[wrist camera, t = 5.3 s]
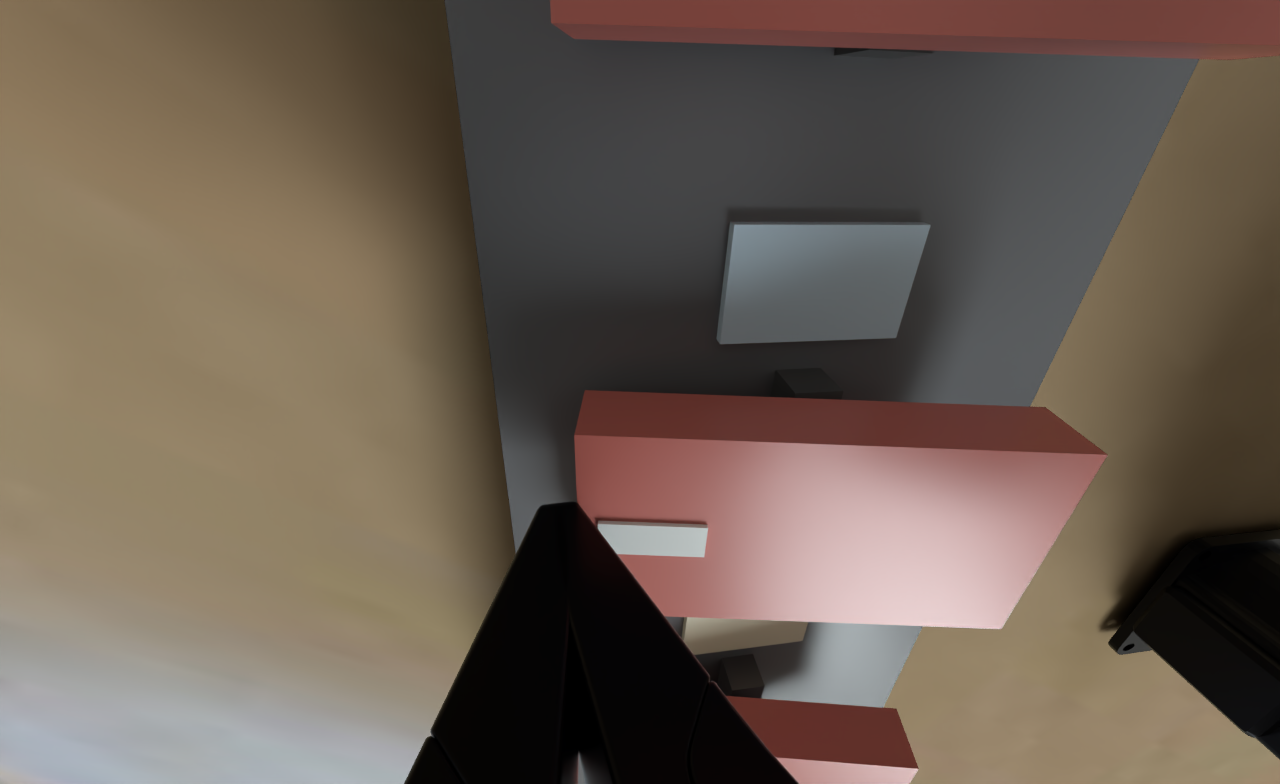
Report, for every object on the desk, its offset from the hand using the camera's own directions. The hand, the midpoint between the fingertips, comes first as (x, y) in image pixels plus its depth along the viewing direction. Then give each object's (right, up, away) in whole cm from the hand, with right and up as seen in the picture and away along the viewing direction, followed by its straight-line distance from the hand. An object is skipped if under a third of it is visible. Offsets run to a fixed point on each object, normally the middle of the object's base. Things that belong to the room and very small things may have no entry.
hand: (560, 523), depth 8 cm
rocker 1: (+4, +1, +2) cm, 4 cm away
